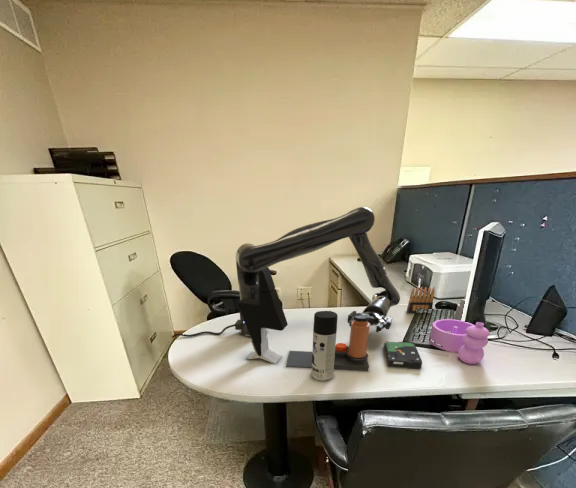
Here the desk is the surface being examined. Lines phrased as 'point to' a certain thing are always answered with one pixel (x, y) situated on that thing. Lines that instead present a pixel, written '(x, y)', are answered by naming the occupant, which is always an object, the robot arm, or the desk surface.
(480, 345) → the container set
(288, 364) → the plate
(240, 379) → the desk surface
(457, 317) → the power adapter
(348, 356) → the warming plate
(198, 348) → the desk surface
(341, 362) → the grey base plate
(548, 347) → the desk surface
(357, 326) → the orange bottle
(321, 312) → the spray can
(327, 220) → the robot arm
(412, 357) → the disk drive
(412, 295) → the ammunition clip
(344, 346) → the power button
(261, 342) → the award
